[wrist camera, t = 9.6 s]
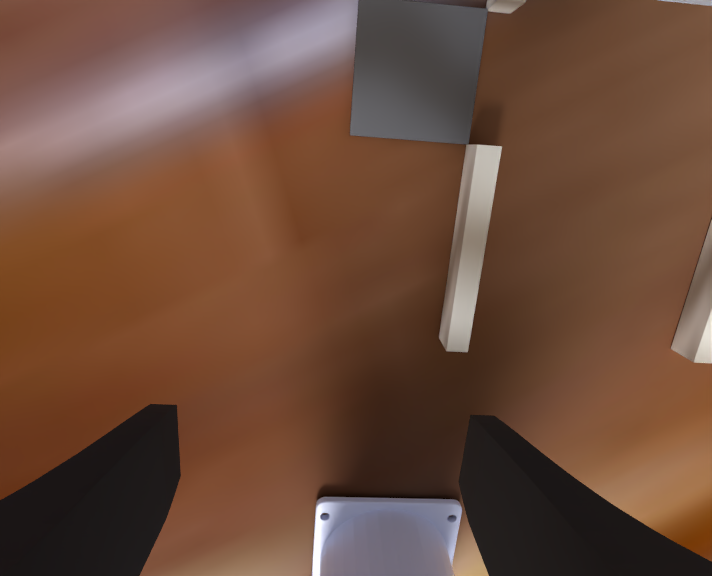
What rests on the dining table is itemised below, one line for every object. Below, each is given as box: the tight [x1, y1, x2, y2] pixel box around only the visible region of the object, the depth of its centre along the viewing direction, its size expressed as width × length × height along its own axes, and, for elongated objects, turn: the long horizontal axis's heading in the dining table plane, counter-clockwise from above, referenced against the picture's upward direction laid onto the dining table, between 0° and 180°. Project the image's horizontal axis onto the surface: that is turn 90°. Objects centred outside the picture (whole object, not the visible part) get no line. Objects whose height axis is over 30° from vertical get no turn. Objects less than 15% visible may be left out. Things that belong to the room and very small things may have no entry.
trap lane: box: [350, 0, 712, 363], centre depth 17 cm, size 24×23×3 cm
